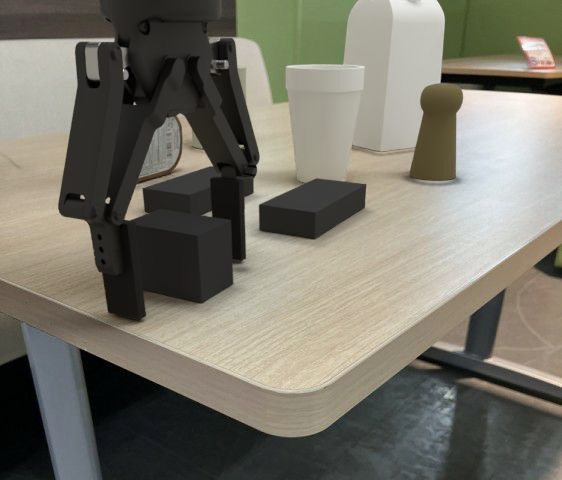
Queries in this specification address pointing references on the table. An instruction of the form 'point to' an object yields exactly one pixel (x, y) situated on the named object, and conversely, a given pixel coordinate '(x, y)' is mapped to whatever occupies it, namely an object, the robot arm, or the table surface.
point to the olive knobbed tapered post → (437, 133)
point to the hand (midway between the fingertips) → (184, 283)
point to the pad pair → (273, 213)
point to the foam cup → (323, 117)
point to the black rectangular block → (184, 254)
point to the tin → (163, 150)
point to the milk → (393, 67)
